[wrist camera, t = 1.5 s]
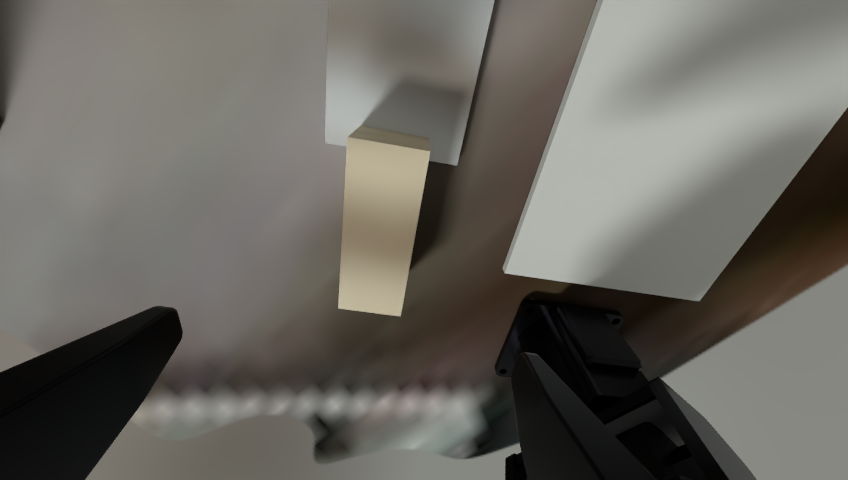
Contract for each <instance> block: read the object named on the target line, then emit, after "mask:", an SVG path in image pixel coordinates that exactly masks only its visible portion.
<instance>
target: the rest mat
mask: <svg viewBox="0 0 848 480" xmlns="http://www.w3.org/2000/svg"><path fill="white" fill-rule="evenodd" d="M847 108H848V0H598V1H597V3H596V6H595V9H594V12H593V15H592V17H591V20H590V23H589V26H588V29H587V32H586V34H585V37H584V40H583V43H582V46H581V48H580V51H579V54H578V57H577V60H576V63H575V65H574V68H573V71H572V74H571V77H570V80H569V82H568V85H567V88H566V91H565V94H564V96H563V99H562V102H561V105H560V108H559V111H558V113H557V116H556V119H555V122H554V125H553V127H552V130H551V133H550V136H549V139H548V142H547V144H546V147H545V150H544V153H543V156H542V159H541V161H540V164H539V167H538V170H537V173H536V175H535V178H534V181H533V184H532V187H531V190H530V192H529V195H528V198H527V201H526V204H525V206H524V209H523V212H522V215H521V218H520V221H519V223H518V226H517V229H516V232H515V235H514V238H513V240H512V243H511V246H510V249H509V252H508V254H507V257H506V260H505V263H504V266H503V270H504V273H507V274H513V275H520V276H527V277H534V278H541V279H548V280H555V281H562V282H569V283H576V284H582V285H589V286H596V287H603V288H610V289H617V290H624V291H631V292H638V293H645V294H651V295H658V296H665V297H672V298H679V299H686V300H693V301H700V300H701V298H702V297H703V296H704V294H705V293H706V292H707V291H708V289H709V288H710V287H711V285H712V284H713V283H714V281H715V280H716V279H717V277H718V276H719V275H720V274H721V272H722V271H723V270H724V268H725V267H726V266H727V264H728V263H729V262H730V260H731V259H732V258H733V257H734V255H735V254H736V253H737V251H738V250H739V249H740V247H741V246H742V245H743V243H744V242H745V241H746V240H747V238H748V237H749V236H750V234H751V233H752V232H753V230H754V229H755V228H756V227H757V225H758V224H759V223H760V221H761V220H762V219H763V217H764V216H765V215H766V213H767V212H768V211H769V210H770V208H771V207H772V206H773V204H774V203H775V202H776V200H777V199H778V198H779V196H780V195H781V194H782V193H783V191H784V190H785V189H786V187H787V186H788V185H789V183H790V182H791V181H792V179H793V178H794V177H795V176H796V174H797V173H798V172H799V170H800V169H801V168H802V166H803V165H804V164H805V162H806V161H807V160H808V159H809V157H810V156H811V155H812V153H813V152H814V151H815V149H816V148H817V147H818V145H819V144H820V143H821V142H822V140H823V139H824V138H825V136H826V135H827V134H828V132H829V131H830V130H831V128H832V127H833V126H834V125H835V123H836V122H837V121H838V119H839V118H840V117H841V115H842V114H843V113H844V111H845V110H846V109H847Z"/></svg>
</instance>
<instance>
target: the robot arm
mask: <svg viewBox="0 0 848 480" xmlns="http://www.w3.org/2000/svg"><path fill="white" fill-rule="evenodd" d="M528 307H531V308H530V309H527V308H528ZM623 323H624V318H623V316H622V315H621V314H620V313H619V312H617V311H612V310H605V309H600V308H593V307H586V306H579V305H572V304H564V303H563V304H561V303H554V302H547V301H539V300H532V299H527V300H524V301H523V302H522V303H521V304H520V307H519V309H518V311H517V314H516V316H515V319H514V321H513V323H512V326H511V328H510V331H509V333H508V335H507V338H506V340H505V343H504V345H503V347H502V350H501V352H500V355H499V357H498V360H497V362H496V364H495V371H496V374H497V375H498V376H503V377H511V382H512V390H513V398H514V406H515V414H516V422H517V430H518V436H519V442H520V447H521V451H522V452H521V453H519V454H512V455H511V456H509V457H507V458H506V466H505V469H506V470H505V472H506V473H505V480H756V478H755V477H754V475H753V474H752V473H751V471H750V470H749V469H748V468H747V466H746V465H745V464H744V463H743V462H742V460H741V459H740V458H739V457H738V456H737V455H736V453H735V452H734V451H733V450H732V449H731V448H730V446H729V445H728V444H727V443H726V442H725V441H724V439H723V438H722V437H721V436H720V435H719V434H718V433H717V431H716V430H715V429H714V428H713V427H712V425H711V424H710V423H709V422H708V421H707V420H706V419H705V418H704V417H703V416H702V415H701V414H700V413H699V412H698V411H696V410H695V409H694V408H693V407H692V406H691V405H690V404H688V403H687V402H686V401H685V400H684V399H683V398H682V397H681V396H679V395H678V394H677V393H676V392H675V391H674V390H673V389H672V388H670V387H669V386H668V385H667V384H666V383H665V382H664V381H663V380H661V379H660V378H659V377H657V378H655V379H653V380H651V381H648V380H647V379H646V377H645V376H644V375H643V373H642V372H641V371H640V370H641V369H642V367H643V365H642V363H641V361H640V360H639V358H638V357H637V356H636V354H635V353H634V352H633V350H632V349H631V348H630V346H629V345H628V344H627V342H626V341H625V340H624V338H623V337H622V336H621V334H620V333H619V332H618V330H619V329H620V327H621V326H622V324H623ZM182 334H183V331H182V327H181V323H180V319H179V316H178V312H177V310H176V309H175V308H171V307H163V306H155V307H152V308H150V309H147V310H145V311H143V312H140V313H138V314H136V315H133V316H131V317H129V318H126V319H124V320H122V321H119V322H117V323H115V324H112V325H110V326H108V327H105V328H103V329H101V330H98V331H96V332H94V333H91V334H89V335H87V336H84V337H82V338H80V339H77V340H75V341H73V342H70V343H68V344H66V345H63V346H61V347H59V348H56V349H54V350H52V351H49V352H47V353H45V354H42V355H40V356H37V357H35V358H33V359H31V360H28V361H26V362H24V363H21V364H19V365H16V366H14V367H12V368H9V369H8V370H5V371H3V372H0V480H85V479H86V478H87V476H88V475H89V474H90V472H91V471H92V469H93V468H94V467H95V466H96V464H97V463H98V462H99V460H100V459H101V458H102V456H103V455H104V454H105V452H106V451H107V449H108V448H109V447H110V445H111V444H112V443H113V441H114V440H115V439H116V437H117V436H118V435H119V433H120V432H121V431H122V429H123V428H124V427H125V425H126V424H127V422H128V421H129V420H130V419H131V417H132V416H133V415H134V413H135V412H136V411H137V409H138V408H139V406H140V405H141V404H142V402H143V401H144V399H145V398H146V396H147V395H148V393H149V392H150V390H151V388H152V387H153V385H154V384H155V382H156V380H157V379H158V377H159V375H160V374H161V372H162V370H163V369H164V367H165V366H166V364H167V362H168V361H169V359H170V357H171V356H172V354H173V352H174V351H175V349H176V348H177V346H178V344H179V343H180V341H181V338H182Z"/></svg>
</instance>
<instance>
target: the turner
mask: <svg viewBox="0 0 848 480" xmlns="http://www.w3.org/2000/svg"><path fill="white" fill-rule="evenodd" d="M494 1H495V0H328V27H327V75H326V124H325V143H329V144H335V145H340V146H346V147H347V155H346V174H345V192H344V211H343V229H342V248H341V267H340V285H339V304H338V308H339V309H347V310H354V311H362V312H370V313H378V314H386V315H394V316H401V311H402V306H403V300H404V295H405V289H406V284H407V278H408V273H409V267H410V262H411V256H412V251H413V245H414V240H415V234H416V229H417V223H418V218H419V212H420V206H421V201H422V195H423V190H424V184H425V179H426V173H427V168H428V162H429V161H433V162H439V163H444V164H450V165H456V166H457V164H458V160H459V155H460V151H461V146H462V142H463V138H464V133H465V129H466V124H467V120H468V116H469V111H470V107H471V102H472V98H473V93H474V89H475V85H476V80H477V76H478V71H479V67H480V63H481V58H482V54H483V49H484V45H485V41H486V36H487V32H488V27H489V23H490V18H491V14H492V10H493V5H494Z"/></svg>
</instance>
